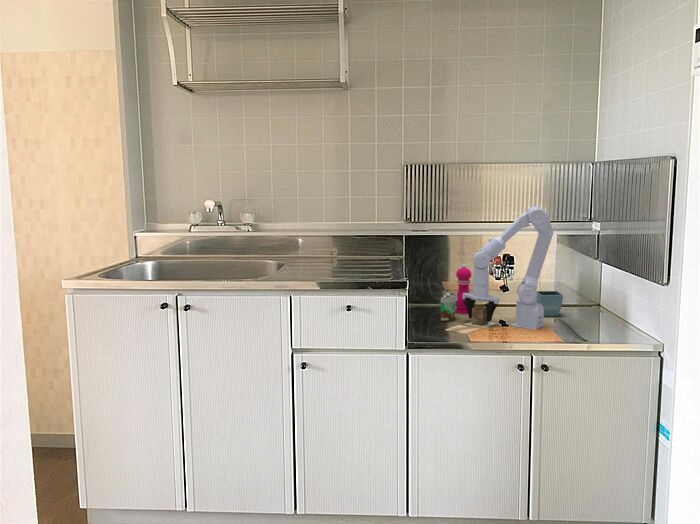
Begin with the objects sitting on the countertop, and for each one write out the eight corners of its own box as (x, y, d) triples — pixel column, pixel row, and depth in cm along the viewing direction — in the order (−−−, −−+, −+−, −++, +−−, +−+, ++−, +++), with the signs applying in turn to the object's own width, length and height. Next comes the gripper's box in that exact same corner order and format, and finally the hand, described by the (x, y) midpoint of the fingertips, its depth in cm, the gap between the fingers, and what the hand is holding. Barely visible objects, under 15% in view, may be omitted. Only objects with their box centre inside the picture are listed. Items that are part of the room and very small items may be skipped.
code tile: (496, 323, 239) (496, 323, 239) (484, 328, 232) (484, 327, 232) (476, 320, 245) (476, 319, 245) (463, 324, 238) (463, 324, 238)
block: (488, 323, 239) (488, 307, 238) (482, 325, 235) (482, 309, 235) (478, 321, 242) (478, 306, 241) (471, 323, 238) (471, 308, 238)
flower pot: (534, 312, 256) (535, 290, 255) (556, 312, 256) (557, 290, 255) (540, 317, 248) (540, 295, 246) (562, 317, 247) (563, 295, 246)
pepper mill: (451, 311, 260) (452, 263, 257) (468, 310, 262) (469, 262, 259) (457, 315, 253) (458, 265, 250) (475, 314, 255) (475, 265, 252)
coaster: (480, 330, 230) (480, 328, 230) (466, 335, 224) (466, 333, 224) (458, 326, 236) (458, 324, 236) (445, 331, 230) (445, 329, 230)
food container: (456, 323, 240) (457, 297, 238) (440, 323, 241) (440, 297, 240) (458, 316, 252) (458, 291, 250) (442, 315, 253) (442, 290, 252)
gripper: (458, 283, 238) (457, 318, 240) (492, 288, 229) (491, 324, 231) (468, 280, 243) (467, 315, 245) (502, 285, 234) (501, 321, 236)
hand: (480, 319), depth 238 cm, fingers open, 7 cm apart
